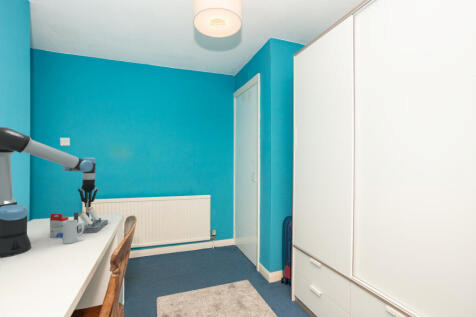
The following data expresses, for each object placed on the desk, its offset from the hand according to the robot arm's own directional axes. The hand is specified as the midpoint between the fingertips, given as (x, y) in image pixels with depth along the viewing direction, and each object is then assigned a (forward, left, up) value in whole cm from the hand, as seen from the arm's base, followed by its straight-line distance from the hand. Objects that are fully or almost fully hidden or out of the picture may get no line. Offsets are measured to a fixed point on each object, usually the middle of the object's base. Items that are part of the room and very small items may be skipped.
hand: (87, 211), depth 162 cm
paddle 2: (0, -7, -7) cm, 10 cm away
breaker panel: (-5, -7, -11) cm, 13 cm away
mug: (-31, -5, -11) cm, 33 cm away
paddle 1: (-11, -7, -7) cm, 15 cm away
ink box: (-19, +8, -11) cm, 24 cm away
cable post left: (-12, +3, -11) cm, 16 cm away
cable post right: (+13, +3, -11) cm, 17 cm away
